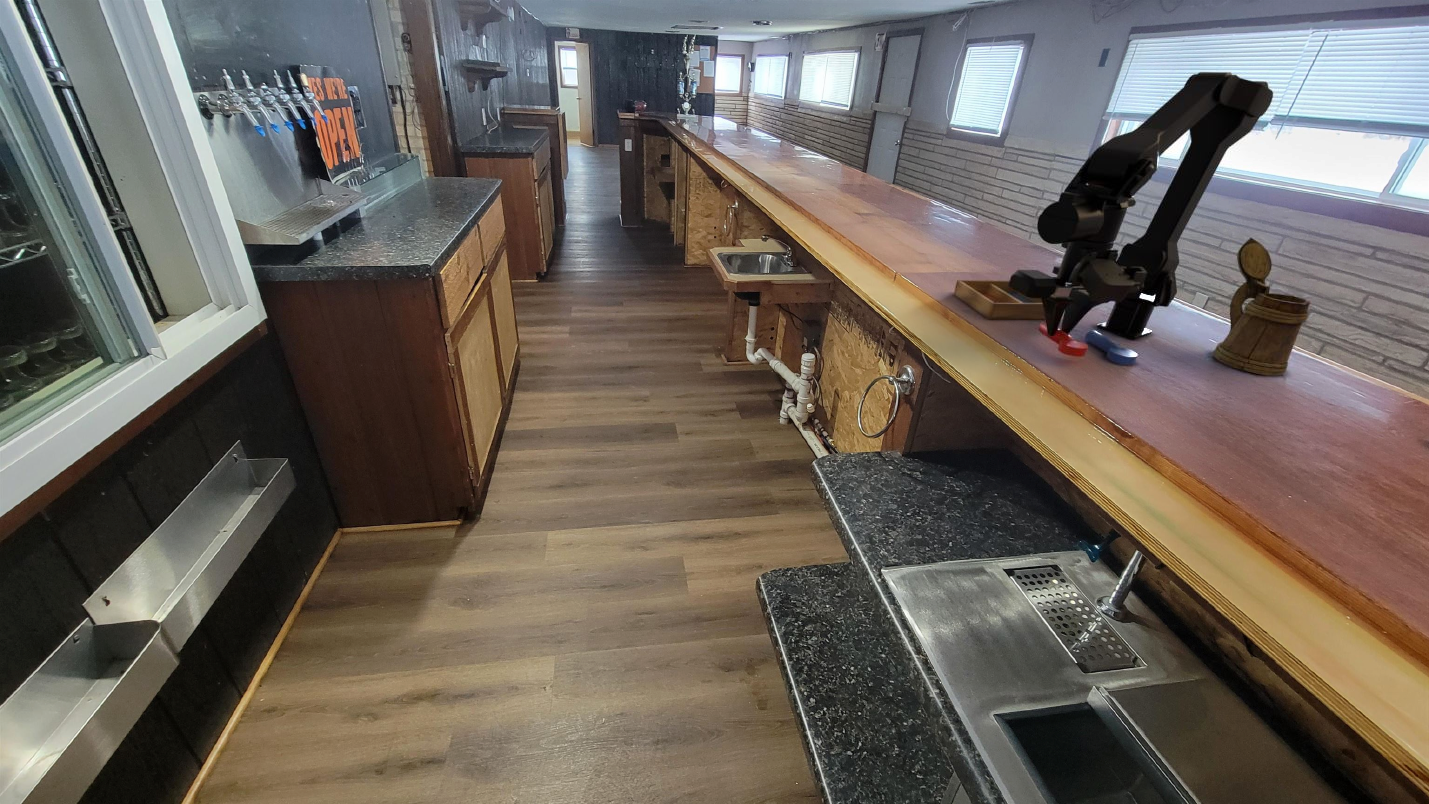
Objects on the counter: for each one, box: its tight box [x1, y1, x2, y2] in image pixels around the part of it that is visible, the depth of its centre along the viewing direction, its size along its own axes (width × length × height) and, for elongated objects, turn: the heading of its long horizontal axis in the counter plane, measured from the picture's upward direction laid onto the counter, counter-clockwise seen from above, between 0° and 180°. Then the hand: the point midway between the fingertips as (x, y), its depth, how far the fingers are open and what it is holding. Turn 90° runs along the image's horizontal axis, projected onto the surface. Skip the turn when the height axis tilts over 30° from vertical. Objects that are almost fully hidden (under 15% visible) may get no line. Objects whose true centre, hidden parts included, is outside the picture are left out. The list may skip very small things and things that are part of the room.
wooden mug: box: [1212, 237, 1311, 376], centre depth 88 cm, size 9×14×18 cm, turn 10°
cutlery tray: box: [953, 279, 1045, 320], centre depth 110 cm, size 14×14×3 cm
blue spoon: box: [1084, 329, 1138, 366], centre depth 92 cm, size 10×4×2 cm, turn 6°
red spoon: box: [1038, 321, 1089, 358], centre depth 91 cm, size 10×4×2 cm, turn 6°
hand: (1056, 335), depth 91 cm, fingers closed on red spoon, 2 cm apart
